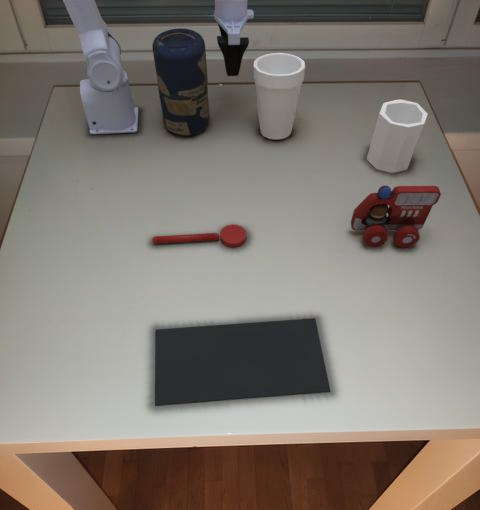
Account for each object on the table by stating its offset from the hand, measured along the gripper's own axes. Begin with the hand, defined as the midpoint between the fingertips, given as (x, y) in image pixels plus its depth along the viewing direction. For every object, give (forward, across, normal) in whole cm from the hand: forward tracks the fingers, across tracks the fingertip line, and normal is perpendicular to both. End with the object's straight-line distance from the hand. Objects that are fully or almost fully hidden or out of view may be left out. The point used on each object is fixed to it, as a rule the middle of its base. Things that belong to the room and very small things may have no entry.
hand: (231, 64), depth 92 cm
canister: (+10, -4, +10) cm, 15 cm away
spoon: (+10, -36, +7) cm, 38 cm away
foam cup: (+10, -8, -8) cm, 15 cm away
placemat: (+10, -60, +3) cm, 61 cm away
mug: (+10, -16, -30) cm, 35 cm away
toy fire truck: (+10, -37, -24) cm, 45 cm away
